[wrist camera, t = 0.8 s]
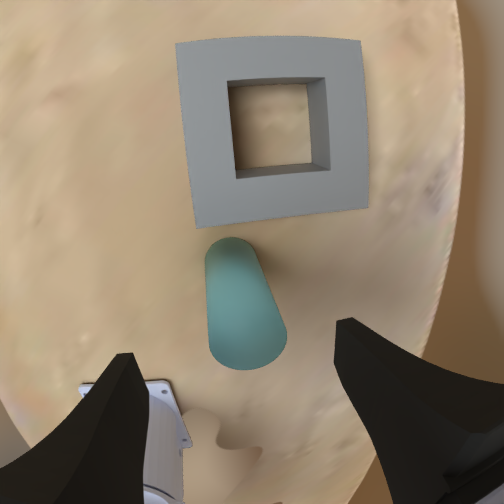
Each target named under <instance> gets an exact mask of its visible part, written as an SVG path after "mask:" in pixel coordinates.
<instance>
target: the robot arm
mask: <svg viewBox="0 0 504 504" xmlns="http://www.w3.org/2000/svg"><path fill="white" fill-rule="evenodd" d="M334 365H335V368H336V370H337V373H338V376H339V378H340V381H341V383H342V386H343V388H344V390H345V391H346V393H347V395H348V397H349V399H350V401H351V402H352V404H353V406H354V408H355V410H356V411H357V413H358V415H359V417H360V419H361V420H362V422H363V424H364V426H365V428H366V429H367V431H368V434H369V436H370V438H371V440H372V442H373V445H374V447H375V450H376V453H377V455H378V458H379V460H380V463H381V466H382V469H383V472H384V475H385V477H386V480H387V484H388V487H389V490H390V493H391V497H392V500H393V504H504V384H498V383H493V382H488V381H483V380H478V379H474V378H470V377H467V376H464V375H461V374H457V373H454V372H451V371H449V370H445V369H443V368H441V367H438V366H436V365H434V364H431V363H429V362H427V361H425V360H423V359H421V358H419V357H417V356H415V355H413V354H411V353H409V352H407V351H405V350H404V349H402V348H400V347H398V346H397V345H395V344H393V343H392V342H390V341H388V340H387V339H385V338H384V337H382V336H381V335H379V334H377V333H376V332H374V331H373V330H371V329H370V328H368V327H367V326H365V325H364V324H362V323H361V322H359V321H357V320H356V319H354V318H352V317H351V318H347V319H342V320H338V321H336V338H335V353H334ZM164 390H167V391H164ZM79 392H80V394H81V395H82V397H83V399H82V400H81V401H80V402H79V403H78V405H77V406H76V407H75V408H74V409H73V411H72V412H71V413H70V414H69V415H68V416H67V417H66V418H65V419H64V420H63V421H62V422H61V423H60V424H59V425H58V426H57V427H56V428H55V429H54V430H53V431H52V432H51V433H50V434H49V435H48V436H46V437H45V438H44V439H43V440H42V441H40V442H39V443H38V444H37V445H36V446H34V447H33V448H32V449H31V450H29V451H28V452H26V453H25V454H23V455H22V456H20V457H19V458H17V459H16V460H14V461H13V462H11V463H9V464H8V465H6V466H4V467H2V468H0V504H185V502H182V501H183V495H184V490H183V455H182V454H183V451H182V448H190V447H192V441H191V439H190V436H189V433H188V431H187V429H186V426H185V424H184V421H183V419H182V416H181V414H180V411H179V408H178V406H177V403H176V400H175V398H174V395H173V392H172V390H171V387H170V384H169V383H168V382H167V381H164V380H160V381H147V382H145V381H144V379H143V376H142V374H141V372H140V369H139V367H138V364H137V362H136V359H135V357H134V354H133V353H121V354H117V355H116V356H115V357H114V358H113V360H112V361H111V362H110V364H109V365H108V366H107V368H106V369H105V370H104V372H103V373H102V374H101V376H100V377H99V378H98V380H97V381H96V382H95V384H81V385H80V386H79Z"/></svg>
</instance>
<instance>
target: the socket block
mask: <svg viewBox="0 0 504 504" xmlns="http://www.w3.org/2000/svg"><path fill="white" fill-rule="evenodd" d="M175 46H176V58H177V70H178V81H179V92H180V102H181V112H182V121H183V130H184V139H185V148H186V156H187V164H188V172H189V179H190V187H191V194H192V201H193V209H194V215H195V222H196V229H198V228H205V227H212V226H220V225H227V224H235V223H243V222H250V221H258V220H266V219H275V218H283V217H291V216H300V215H308V214H317V213H326V212H335V211H345V210H354V209H364V208H368V193H369V163H368V127H367V108H366V93H365V80H364V69H363V59H362V50H361V41H359V40H350V39H339V38H326V37H308V36H251V37H232V38H219V39H208V40H199V41H191V42H183V43H176V44H175ZM271 84H307V94H308V107H309V120H310V136H311V153H312V163H305V164H292V165H280V166H269V167H259V168H250V169H240V170H235V163H234V153H233V142H232V132H231V122H230V111H229V101H228V90H227V87H238V86H252V85H271Z"/></svg>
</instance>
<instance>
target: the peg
mask: <svg viewBox="0 0 504 504" xmlns="http://www.w3.org/2000/svg"><path fill="white" fill-rule="evenodd" d="M205 277H206V299H207V319H208V336H209V348H210V351H211V353H212V355H213V356H214V358H215V359H216V360H217V361H218V362H220V363H221V364H222V365H224V366H226V367H229V368H232V369H236V370H252V369H257V368H260V367H263V366H265V365H267V364H269V363H271V362H272V361H274V360H275V359H276V358H277V357H278V356H279V355H280V354H281V352H282V351H283V349H284V347H285V345H286V341H287V331H286V327H285V325H284V323H283V320H282V318H281V315H280V313H279V310H278V308H277V305H276V303H275V300H274V298H273V295H272V293H271V291H270V288H269V286H268V283H267V281H266V278H265V276H264V273H263V271H262V268H261V266H260V264H259V261H258V259H257V256H256V254H255V251H254V249H253V248H252V246H251V245H250V244H249V243H247V242H246V241H244V240H242V239H239V238H234V237H229V238H224V239H221V240H219V241H217V242H215V243H214V244H213V245H212V246H211V247H210V248H209V250H208V252H207V254H206V257H205Z"/></svg>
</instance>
